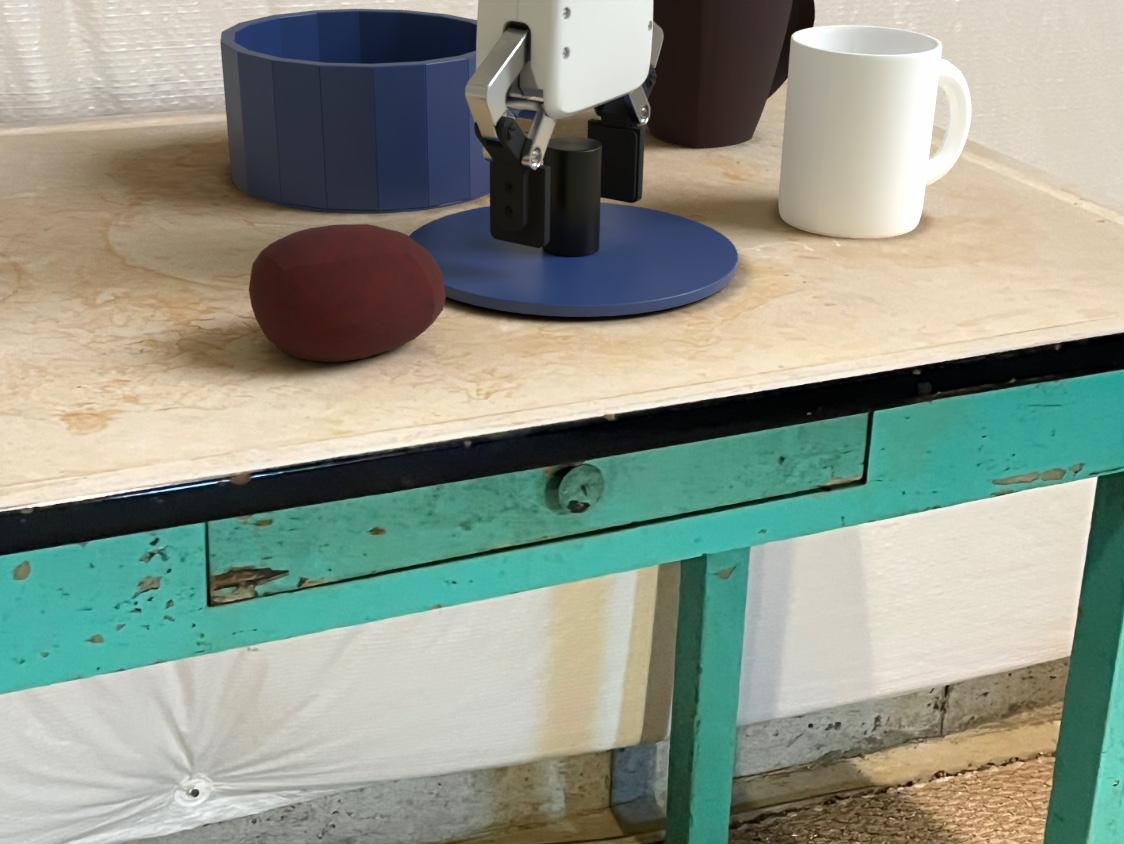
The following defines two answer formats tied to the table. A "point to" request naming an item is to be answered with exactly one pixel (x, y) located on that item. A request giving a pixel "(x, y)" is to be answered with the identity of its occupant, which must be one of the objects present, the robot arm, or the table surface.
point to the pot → (353, 110)
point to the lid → (581, 251)
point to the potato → (344, 292)
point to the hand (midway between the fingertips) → (568, 218)
